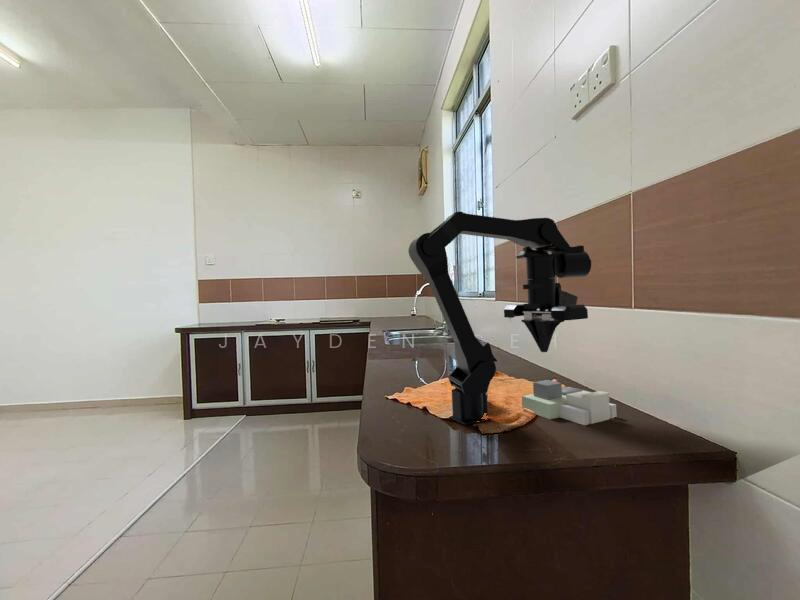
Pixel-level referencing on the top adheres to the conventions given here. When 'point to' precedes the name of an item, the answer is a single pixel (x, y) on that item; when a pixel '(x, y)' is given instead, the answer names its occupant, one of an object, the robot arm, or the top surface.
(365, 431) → the top surface
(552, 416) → the green block with prongs
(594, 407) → the white lidded box
